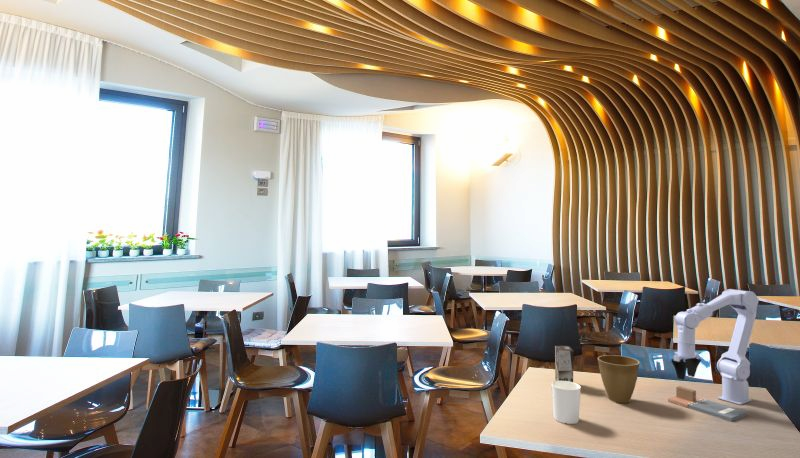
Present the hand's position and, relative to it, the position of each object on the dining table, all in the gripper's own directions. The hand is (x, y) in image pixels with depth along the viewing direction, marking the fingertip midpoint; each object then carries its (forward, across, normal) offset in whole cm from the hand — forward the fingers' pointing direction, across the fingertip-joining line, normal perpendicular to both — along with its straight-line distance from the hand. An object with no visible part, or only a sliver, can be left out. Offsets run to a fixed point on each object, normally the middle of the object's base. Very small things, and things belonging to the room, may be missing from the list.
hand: (686, 377), depth 172 cm
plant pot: (+10, +22, -14) cm, 28 cm away
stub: (+10, 0, 0) cm, 10 cm away
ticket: (+10, 0, +11) cm, 15 cm away
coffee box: (+10, +25, -37) cm, 46 cm away
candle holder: (+11, +56, -12) cm, 58 cm away
